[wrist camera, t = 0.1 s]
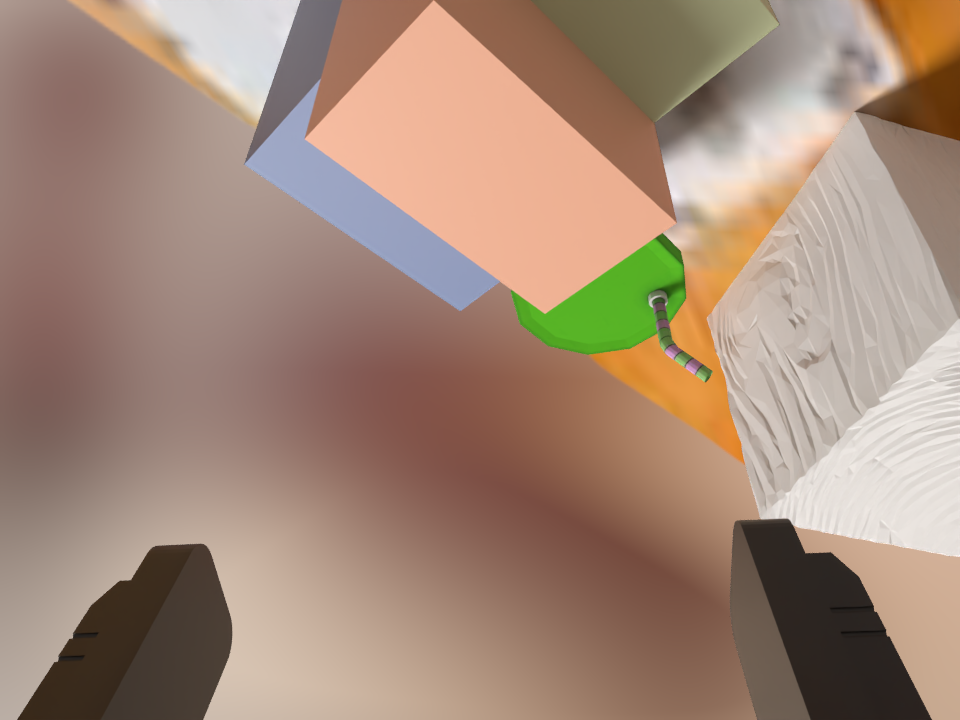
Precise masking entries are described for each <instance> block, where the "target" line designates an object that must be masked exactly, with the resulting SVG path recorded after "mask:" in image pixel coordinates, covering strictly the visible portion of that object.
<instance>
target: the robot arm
mask: <svg viewBox="0 0 960 720" xmlns="http://www.w3.org/2000/svg"><path fill="white" fill-rule="evenodd" d="M730 588H731V589H730V613H731V623H732V630H733V636H734V640H735V644H736V648H737V651H738V655H739V658H740V662H741V665H742V669H743V672H744V675H745V679H746V682H747V686H748V689H749V693H750V696H751V699H752V703H753V707H754V710H755V713H756V717H757V720H932V719H931V717H930V715H929V713H928V711H927V710H926V707H925V705H924V703H923V702H922V700H921V698H920V696H919V694H918V692H917V690H916V688H915V686H914V684H913V682H912V680H911V678H910V676H909V674H908V672H907V670H906V668H905V666H904V664H903V662H902V660H901V659H900V656H899V655H898V653H897V651H896V649H895V647H894V645H893V643H892V641H891V639H890V637H887V635H886V629H885V627H884V625H883V624H882V621H881V619H880V617H879V615H878V613H877V612H875V611H874V606H873V604H872V602H871V600H870V598H869V596H868V594H867V592H866V590H865V588H864V586H863V584H862V582H861V580H860V578H859V577H858V576H857V575H856V574H855V573H854V572H852V570H850V569H849V568H848V567H847V566H846V565H845V564H844V563H842V562H841V561H840V560H839V559H838V558H837V557H836V556H834V555H833V554H832V553H831V552H830V553H806V554H805V551H804V549H803V547H802V545H801V542H800V540H799V538H798V536H797V533H796V531H795V529H794V527H793V525H792V523H791V521H790V520H789V519H787V518H782V519H761V520H740V521H736V522H735V524H734V529H733V545H732V567H731V587H730ZM231 644H232V622H231V617H230V613H229V610H228V607H227V603H226V601H225V597H224V594H223V591H222V588H221V584H220V581H219V578H218V575H217V571H216V568H215V565H214V562H213V559H212V556H211V553H210V551H209V549H208V548H207V546H205V545H204V544H186V545H166V546H155V547H153V548H152V549H151V550H150V551H149V552H148V553H147V555H146V556H145V558H144V560H143V562H142V563H141V565H140V566H139V568H138V570H137V571H136V573H135V575H134V576H133V578H132V580H129V581H119V582H118V583H117V584H116V585H114V586H113V587H112V588H111V589H110V590H109V591H107V592H106V593H105V594H104V595H103V596H102V597H101V598H99V599H98V600H97V601H96V602H95V603H94V604H92V605H91V607H90V608H89V610H88V611H87V613H86V614H85V616H84V617H83V619H82V620H81V622H80V624H79V625H78V627H77V628H76V630H75V631H74V633H73V639H69V641H68V642H67V644H66V645H65V647H64V648H63V650H62V651H61V653H60V654H59V656H58V657H59V660H58V662H54V664H53V665H52V667H51V668H50V670H49V672H48V673H47V675H46V676H45V678H44V679H43V681H42V682H41V684H40V685H39V687H38V688H37V690H36V692H35V693H34V695H33V696H32V698H31V699H30V701H29V702H28V704H27V705H26V707H25V708H24V710H23V712H22V713H21V715H20V716H19V718H18V719H17V720H203V718H204V716H205V714H206V711H207V709H208V707H209V704H210V702H211V699H212V697H213V694H214V692H215V689H216V687H217V685H218V682H219V680H220V677H221V675H222V673H223V670H224V668H225V665H226V663H227V660H228V658H229V654H230V650H231Z"/></svg>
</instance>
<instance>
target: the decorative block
mask: <svg viewBox="0 0 960 720" xmlns="http://www.w3.org/2000/svg"><path fill="white" fill-rule="evenodd" d="M707 321H708V324H709V327H710V329H711V334H712V337H713V340H714V346H715V351H716V353H717V355H718V357H719V358H720V363H721V367H722V370H723V372H724V375H725V378H726V384H727V390H728V402H729V407H730V412H731V415H732V418H733V421H734V424H735V426H736V429H737V432H738V435H739V438H740V440H741V443H742V452H743V456H744V461H745V465H746V469H747V473H748V476H749V480H750V483H751V487H752V490H753V493H754V497H755V500H756V504H757V507H758V511H759V515H760V518H761V519H782V518H787V519H789V520H790V521H791V523H792V525H794V526H797V527H799V528H805V529H812V530H818V531H821V532H823V533H825V532H828V533H830V534H836V535H842V536H847V537H850V538H856V539H864V540H869V541H872V542H876V543H885V544H891V545H896V546H900V547H904V548H907V547H908V548H912V549H916V550H923V551H927V552H932V553H939V554H943V555H947V556H957V557H960V141H959V140H955V139H951V138H947V137H944V136H940V135H936V134H932V133H928V132H925V131H921V130H918V129H914V128H910V127H906V126H902V125H900V124H897V123H893V122H890V121H886V120H882V119H880V118H878V117H876V116H872V115H869V114H864V113H859V112H854V113H853V114H852V116H851V117H850V119H849V120H848V121H847V123H846V124H845V126H844V127H843V128H842V130H841V131H840V133H839V134H838V136H837V137H836V138H835V140H834V141H833V143H832V144H831V146H830V147H829V149H828V150H827V152H826V153H825V155H824V156H823V158H822V159H821V160H820V161H819V163H818V164H817V165H816V167H815V168H814V170H813V171H812V173H811V174H810V176H809V177H808V179H807V180H806V182H805V183H804V185H803V186H802V188H801V189H800V191H799V192H798V193H797V195H796V196H795V198H794V199H793V200H792V202H791V203H790V205H789V206H788V207H787V209H786V210H785V212H784V213H783V214H782V216H781V217H780V218H779V220H778V221H777V222H776V224H775V225H774V226H773V228H772V229H771V230H770V232H769V233H768V234H767V236H766V237H765V239H764V240H763V241H762V243H761V244H760V246H759V247H758V248H757V250H756V251H755V252H754V254H753V255H752V257H751V258H750V259H749V261H748V262H747V264H746V265H745V266H744V268H743V269H742V270H741V272H740V273H739V274H738V276H737V277H736V278H735V280H734V281H733V282H732V284H731V285H730V287H729V288H728V290H727V291H726V292H725V294H724V295H723V297H722V298H721V300H720V301H719V302H718V303H717V304H716V306H715V308H714V310H713V311H712V313H711V314H710V315H709V316H708V318H707Z"/></svg>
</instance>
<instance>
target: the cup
mask: <svg viewBox="0 0 960 720" xmlns="http://www.w3.org/2000/svg"><path fill="white" fill-rule="evenodd" d="M511 294H512V298H513V301H514V305H515V308H516V311H517V315H518V319H519V322H520V324H521V325H522V326H523V327H524V328H526V329H527V330H528V331H530V332H531V333H532V334H533V335H535V336H536V337H537V338H539V339H540V340H541V341H542V342H544V343H545V344H546V345H548V346H550V347H555V348H559V349H564V350H569V351H573V352H578V353H582V354H587V355H589V354H596V353H603V352H610V351H617V350H624V349H630V348H632V347H634V346H636V345H637V344H639V343H641V342H643V341H645V340H646V339H648V338H650V337H652V336H654V335H655V334H657V333H658V338H659V342H660V346H661V348H662V349H663V351H664V352H665V353H666V355H668V356H669V357H671V358H672V359H673V360H675V361H676V362H678V363H679V364H680V365H682V366H683V367H685V368H686V369H687V370H689V371H690V372H692V373H693V374H694V375H696V376H697V377H699V378H700V379H701V380H703V381H704V382H706V381H707V380H708V379H709V378H710V376H711V374H712V372H713V371H712V370H710V369H709V368H707V367H706V366H704V365H703V364H702V363H700V362H699V361H697V360H696V359H694V358H693V357H691V356H690V355H688V354H687V353H686V352H684V351H683V350H681V349H680V348H678V347H677V346H676V344H675V343H674V341H673V340H672V336H671V331H670V326H669V323H670V322H671V320H672V319H673V317H674V316H675V314H676V313H677V311H678V310H679V308H680V307H681V305H682V304H683V302H684V301H685V299H686V289H685V275H684V264H683V260H682V255H681V251H680V250H679V249H678V248H677V247H676V246H675V245H674V244H673V243H672V242H671V241H670V240H669V239H668V238H667V237H666V236H665V235H664V234H663V233H661V234H660V235H659V236H657V237H656V238H654V239H653V240H651V241H650V242H648V243H647V244H646V245H644V246H643V247H641V248H640V249H638V250H637V251H635V252H634V253H632V254H631V255H630V256H628V257H627V258H625V259H624V260H622V261H621V262H619V263H618V264H617V265H615V266H614V267H612V268H611V269H609V270H608V271H606V272H605V273H603V274H602V275H601V276H599V277H598V278H596V279H595V280H593V281H592V282H590V283H589V284H588V285H586V286H585V287H583V288H582V289H580V290H579V291H577V292H576V293H575V294H573V295H572V296H570V297H569V298H567V299H566V300H564V301H563V302H561V303H560V304H559V305H557V306H556V307H554V308H553V309H551V310H550V311H548V312H547V313H546V314H544V313H543V312H542V311H540V310H539V309H537V308H536V307H535V306H533V305H532V304H531V303H529V302H528V301H526V300H525V299H524V298H522V297H521V296H520V295H518V294H517V293H515V292H514V291H513V290H511Z"/></svg>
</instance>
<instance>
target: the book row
mask: <svg viewBox="0 0 960 720" xmlns="http://www.w3.org/2000/svg"><path fill="white" fill-rule="evenodd" d="M779 25H780V24H779V22H778V20H777V18H776V16H775V14H774V12H773V10H772V8H771V5H770V3H769V1H768V0H301V1H300V4H299V7H298V10H297V12H296V15H295V18H294V21H293V24H292V27H291V30H290V33H289V36H288V39H287V41H286V44H285V47H284V50H283V53H282V56H281V59H280V62H279V65H278V68H277V71H276V73H275V76H274V79H273V82H272V85H271V88H270V91H269V94H268V97H267V100H266V102H265V105H264V108H263V111H262V114H261V117H260V120H259V123H258V126H257V129H256V131H255V135H254V137H253V141H252V143H251V146H250V149H249V152H248V155H247V158H246V161H245V163H244V165H246V166H247V167H249V168H250V169H252V170H253V171H255V172H256V173H258V174H259V175H260V176H262V177H263V178H265V179H267V180H268V181H270V182H271V183H273V184H274V185H275V186H277V187H278V188H280V189H281V190H283V191H284V192H286V193H287V194H288V195H290V196H292V197H293V198H294V199H296V200H297V201H299V202H300V203H302V204H303V205H305V206H306V207H308V208H309V209H311V210H312V211H314V212H315V213H317V214H318V215H319V216H321V217H322V218H324V219H325V220H327V221H328V222H330V223H331V224H333V225H334V226H336V227H337V228H339V229H340V230H342V231H343V232H345V233H346V234H347V235H349V236H350V237H352V238H353V239H355V240H356V241H358V242H359V243H361V244H362V245H364V246H365V247H367V248H368V249H369V250H371V251H372V252H374V253H375V254H377V255H378V256H380V257H381V258H383V259H384V260H386V261H387V262H389V263H390V264H392V265H393V266H395V267H396V268H397V269H399V270H400V271H402V272H403V273H405V274H406V275H408V276H409V277H411V278H412V279H414V280H415V281H417V282H418V283H420V284H421V285H423V286H424V287H426V288H427V289H428V290H430V291H431V292H433V293H434V294H436V295H437V296H439V297H440V298H442V299H443V300H445V301H446V302H448V303H449V304H451V305H452V306H453V307H455V308H456V309H458V310H459V311H461V310H463V309H464V308H465V307H466V306H468V305H469V304H471V303H472V302H473V301H475V300H476V299H477V298H479V297H480V296H481V295H483V294H484V293H485V292H487V291H488V290H489V289H491V288H492V287H493V286H495V285H496V284H497V283H499V282H502V283H503V284H504V285H506V286H507V287H509V288H510V289H511V290H513V291H514V292H515V293H517V294H518V295H520V296H521V297H522V298H524V299H525V300H526V301H528V302H529V303H531V304H532V305H533V306H535V307H536V308H537V309H539V310H540V311H542V312H543V313H544V314H546V313H547V312H548V311H550V310H551V309H553V308H554V307H556V306H557V305H559V304H560V303H561V302H563V301H564V300H566V299H567V298H569V297H570V296H572V295H573V294H575V293H576V292H577V291H579V290H580V289H582V288H583V287H585V286H586V285H588V284H589V283H590V282H592V281H593V280H595V279H596V278H598V277H599V276H601V275H602V274H603V273H605V272H606V271H608V270H609V269H611V268H612V267H614V266H615V265H617V264H618V263H619V262H621V261H622V260H624V259H625V258H627V257H628V256H630V255H631V254H632V253H634V252H635V251H637V250H638V249H640V248H641V247H643V246H644V245H646V244H647V243H648V242H650V241H651V240H653V239H654V238H656V237H657V236H659V235H660V234H661V233H663V232H664V231H666V230H667V229H669V228H670V227H672V226H673V225H675V224H676V223H677V221H676V217H675V213H674V208H673V204H672V199H671V195H670V190H669V186H668V182H667V177H666V173H665V168H664V164H663V160H662V155H661V151H660V146H659V142H658V137H657V133H656V129H655V124H654V123H655V122H656V121H658V120H659V119H660V118H661V117H663V116H664V115H665V114H667V113H668V112H669V111H670V110H672V109H673V108H674V107H675V106H677V105H678V104H679V103H681V102H682V101H683V100H684V99H686V98H687V97H688V96H689V95H691V94H692V93H693V92H695V91H696V90H697V89H698V88H700V87H701V86H702V85H704V84H705V83H706V82H707V81H709V80H710V79H711V78H712V77H714V76H715V75H716V74H718V73H719V72H720V71H721V70H723V69H724V68H725V67H727V66H728V65H729V64H730V63H732V62H733V61H734V60H735V59H737V58H738V57H739V56H741V55H742V54H743V53H744V52H746V51H747V50H748V49H749V48H751V47H752V46H753V45H755V44H756V43H757V42H758V41H760V40H761V39H762V38H764V37H765V36H766V35H767V34H769V33H770V32H771V31H772V30H774V29H775V28H776V27H778V26H779Z"/></svg>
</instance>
